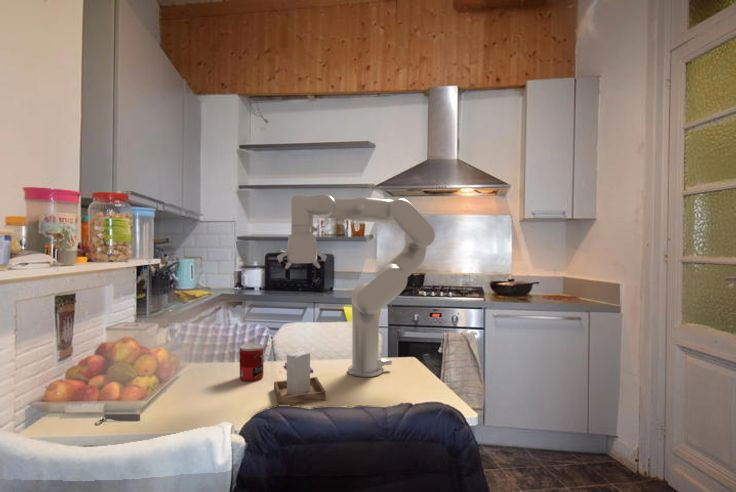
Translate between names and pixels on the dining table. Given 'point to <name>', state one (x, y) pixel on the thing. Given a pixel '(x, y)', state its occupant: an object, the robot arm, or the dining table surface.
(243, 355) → the canned food
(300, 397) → the tray
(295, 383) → the skincare box
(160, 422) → the dining table surface
